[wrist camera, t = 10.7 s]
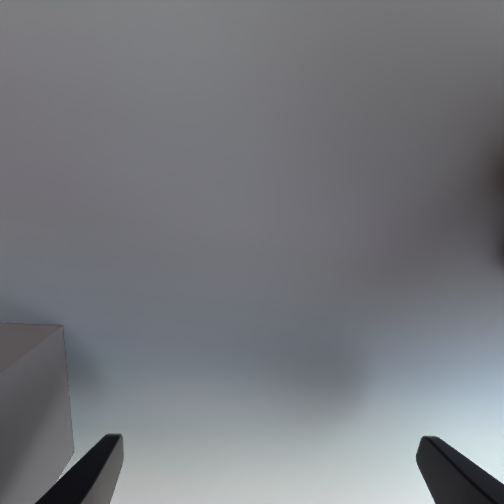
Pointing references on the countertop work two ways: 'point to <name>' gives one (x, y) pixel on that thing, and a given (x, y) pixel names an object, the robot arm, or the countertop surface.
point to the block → (32, 411)
